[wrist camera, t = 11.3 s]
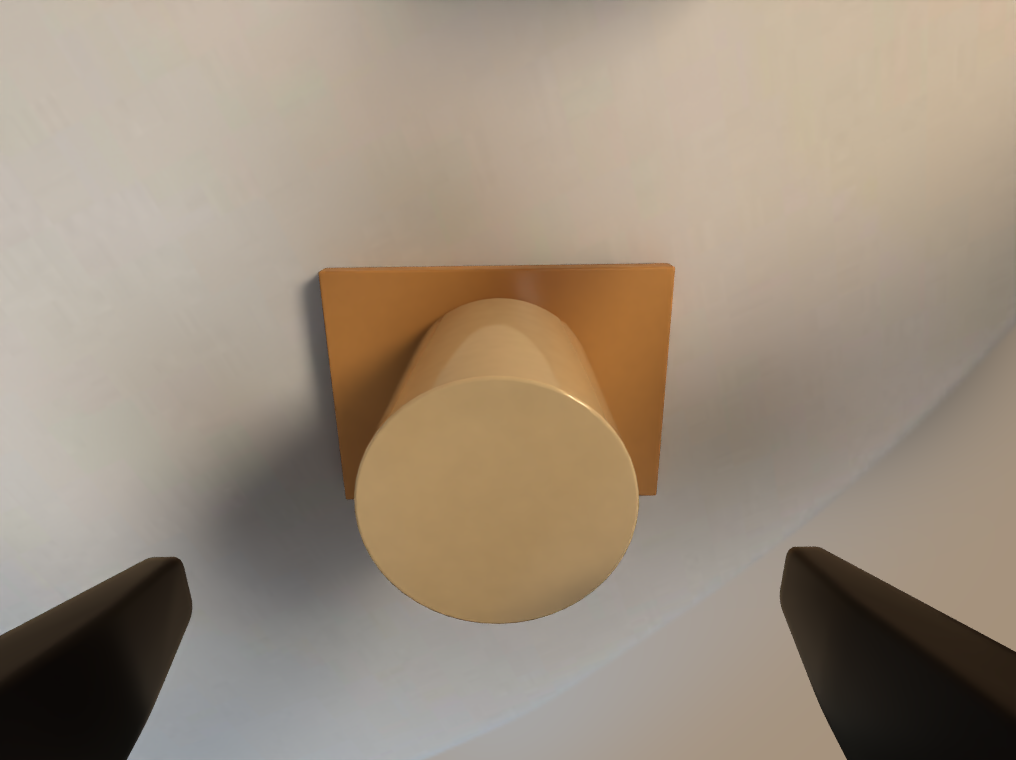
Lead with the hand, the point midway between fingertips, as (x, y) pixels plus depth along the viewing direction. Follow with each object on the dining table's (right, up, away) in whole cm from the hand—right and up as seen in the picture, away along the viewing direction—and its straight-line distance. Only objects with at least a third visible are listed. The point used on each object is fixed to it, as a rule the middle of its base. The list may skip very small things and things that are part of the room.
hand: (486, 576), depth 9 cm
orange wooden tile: (0, +3, +8) cm, 8 cm away
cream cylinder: (0, +3, +7) cm, 8 cm away
